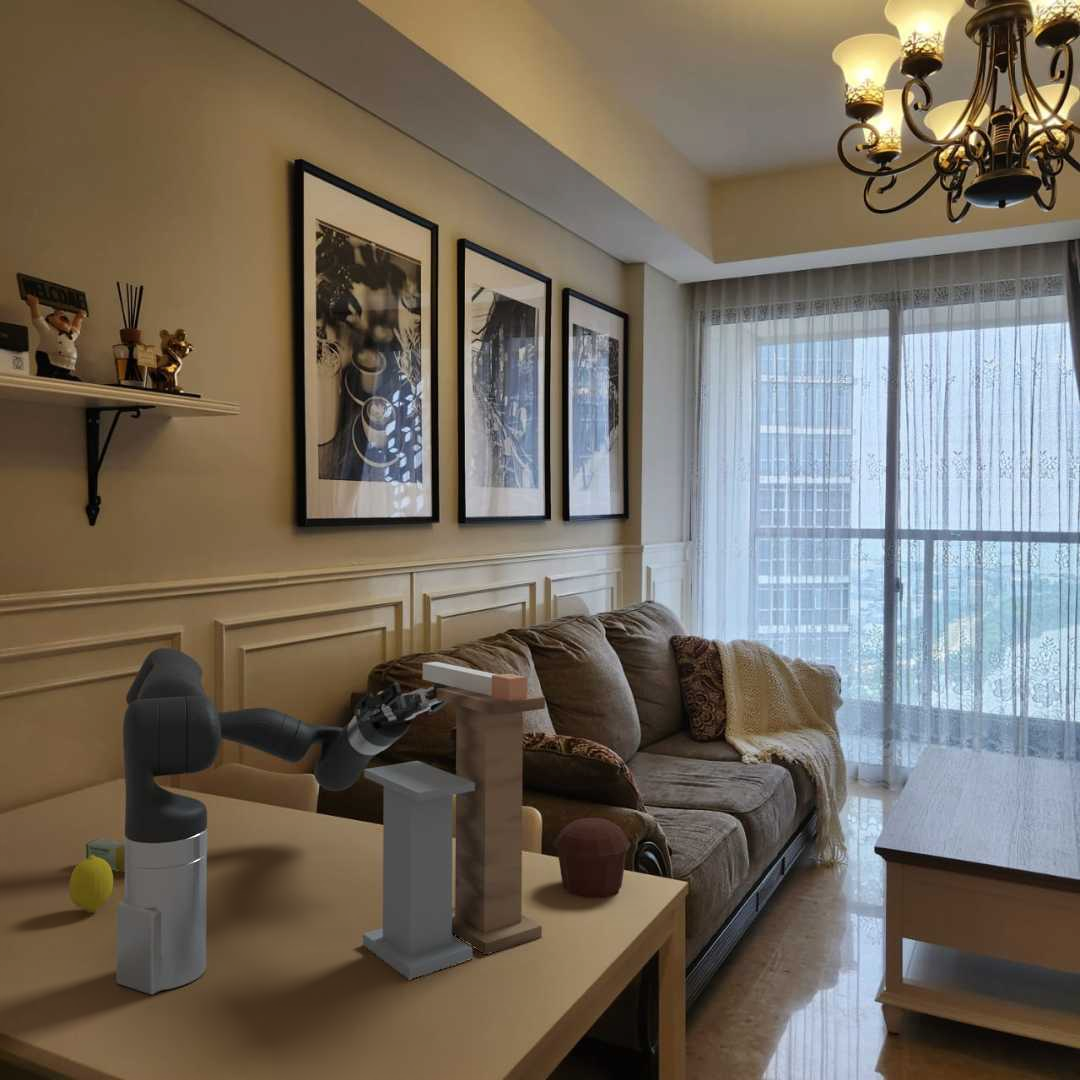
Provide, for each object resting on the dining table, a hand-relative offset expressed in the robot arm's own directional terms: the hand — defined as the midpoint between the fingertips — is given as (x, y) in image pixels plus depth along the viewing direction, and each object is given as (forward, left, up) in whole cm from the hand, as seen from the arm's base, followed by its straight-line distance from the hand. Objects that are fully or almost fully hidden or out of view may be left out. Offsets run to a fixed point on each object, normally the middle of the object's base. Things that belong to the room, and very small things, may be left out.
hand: (423, 685), depth 138 cm
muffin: (+14, -22, -31) cm, 40 cm away
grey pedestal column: (-17, -11, -31) cm, 37 cm away
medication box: (-15, +48, -31) cm, 59 cm away
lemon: (-28, +36, -31) cm, 56 cm away
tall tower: (-7, -16, -31) cm, 35 cm away
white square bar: (-5, -12, +1) cm, 13 cm away
